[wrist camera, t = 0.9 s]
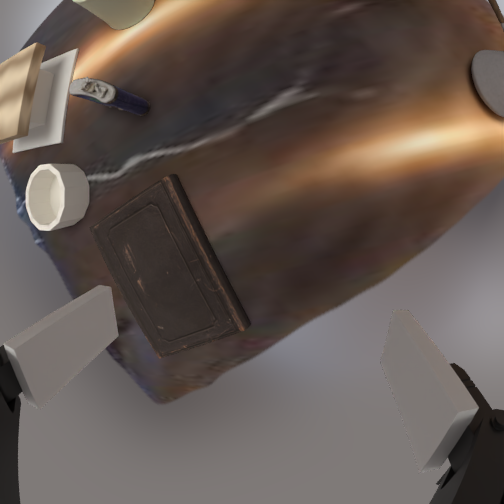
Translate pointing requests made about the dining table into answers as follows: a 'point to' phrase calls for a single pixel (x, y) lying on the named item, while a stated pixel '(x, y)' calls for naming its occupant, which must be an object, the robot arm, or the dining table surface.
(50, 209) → the bowl
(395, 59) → the dining table surface
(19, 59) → the wavy beige panel
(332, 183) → the dining table surface
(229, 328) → the hardcover book
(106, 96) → the flask
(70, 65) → the stand
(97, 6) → the can
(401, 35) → the dining table surface
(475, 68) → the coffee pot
